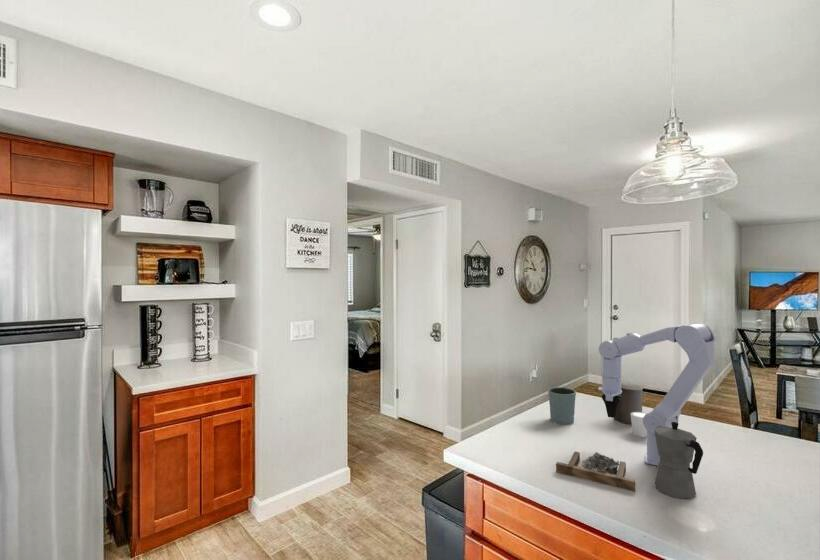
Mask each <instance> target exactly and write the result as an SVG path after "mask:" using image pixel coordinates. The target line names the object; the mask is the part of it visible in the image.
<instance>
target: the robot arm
mask: <svg viewBox="0 0 820 560" xmlns="http://www.w3.org/2000/svg"><path fill="white" fill-rule="evenodd" d="M665 341H669V342H671V343H678V345H679V346H680V348H682V350H683V351H684V352H685V353H686V355H687V357H688V359H689V360H688V362H687V364H686V365H685V366H684V367H683V370H682V371H681V372H680V374H679V375H678V377H677V378H676V380H674V382H673V384H672V385H671V387H670V389H669V390H668V391H667V393H666V394H665V396H664V397H663V399H662V400H661V402H659V403H658V404H657V405H656V406H655V407H654V408H653V409H652V410H651V412H648V413H647V412H646V413H647V414H646V415H645V416H644V417H643V425H644V427H645V428H646V430H647V437H646V452H645V456H644V464H647V465H652V466H657V467H658V464H659V462H660V456H659V455H658V450H657V444H656V438H655V432H654V429H657V427H656V426H665V427H669V428H672V424H671V422H677V423H678V424H679V418H680V415H681V414H682V411H681V410H682V408H683V407H684V406H685V404H686V403H687V402H688V400H689V399H690V397H691V396H692V395H693V393H694V392H695V390H697V388H698V386H699V385H700V384H701V382H702V381H703V379H704V378H705V376H707V374H708V372H709V371H710V370H711V368H712V367H713V365H714V363H715V342H716V336H715V334H714V332H713V330H712V329H711V327H710V326H709V325H707V324H705V323H702V322H695V323H693V324H683V325H675V326H669V327H665V328H662V329H659V330H655V331H652V332H649V333H646V334H643V335H640V334H638V333H636V332H635V333H633V332H628V333H626V334H625V335H623V336H621V337H618V336H615V337H613V338H612V340H604V341H602V342H601V343H600V344H599V345H598V353H599V354H600V356H601V374H602V375H601V386H602V387H598V388H597V389H598V391H600V392H602V393H603V394H602V395H601V399H602V400H603V403H604V405H605V409H606V415H607V417H608V418H615V416H616V412H617V407H618V403H619V401H620V400H621V395H619V394H621V393H622V390H621V383H622V357H623V356H627V355H630V354H634V353H638V352H642V351H643V350H644V349H645V346H647V345H652V344H656V343H661V342H665Z"/></svg>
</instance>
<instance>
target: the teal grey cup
mask: <svg viewBox="0 0 820 560" xmlns="http://www.w3.org/2000/svg"><path fill="white" fill-rule="evenodd" d="M547 391H548V398H549V399H548V400H549V401H548V403H549V414H550V421H551V422H552V423H554V424H557V425H564V426H570V425H573V424H574V422H575V412H576V411H575V410H576V398H577V397H576V396H577V395H576V394H577V392H576V390H574V389H572V388H568V387H562V386H554V387H550V388H548V390H547Z"/></svg>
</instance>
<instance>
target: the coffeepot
mask: <svg viewBox="0 0 820 560" xmlns="http://www.w3.org/2000/svg"><path fill="white" fill-rule="evenodd" d="M671 424H672V428H669V427H665V426H656V427H657V429H654V432H655V438H656V444H657V450H658V455H659V456H660V462H659V464H658V466H657V468H656V469H657V470H656V474H655V479H654V485H655V488H656V489H657V490H658V491H659V492H660V493H662V494H664V495H666V496H668V497H671V498H675V499H679V500H680V499H681V500H690V499H693V498H694V497H695V496H697V492H696V487H695V481H694V477H693V474H694V475H696V474H697V473H698V470H699V468H700V464H701V462H702V458H703V455H704V451H703V448H702V447H701V445H700V443H699V442H698V441H697V437H696V435H694V434H693V433H692V432H690V431H687V430H684V429H682V428H681V429H680V428H678V427H679V422H678V423H677V422H671ZM693 457H694V458H693ZM691 463H692V465H691ZM691 466H692V467H691Z"/></svg>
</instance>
